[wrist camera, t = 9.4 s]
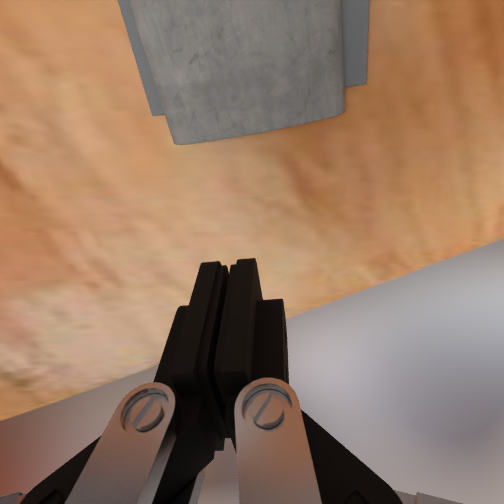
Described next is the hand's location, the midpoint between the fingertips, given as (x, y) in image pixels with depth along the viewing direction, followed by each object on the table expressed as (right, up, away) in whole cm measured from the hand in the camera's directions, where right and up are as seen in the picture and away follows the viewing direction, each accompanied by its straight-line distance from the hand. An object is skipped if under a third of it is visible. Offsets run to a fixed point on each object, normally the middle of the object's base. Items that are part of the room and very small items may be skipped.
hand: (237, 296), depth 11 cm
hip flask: (+1, +13, +20) cm, 24 cm away
